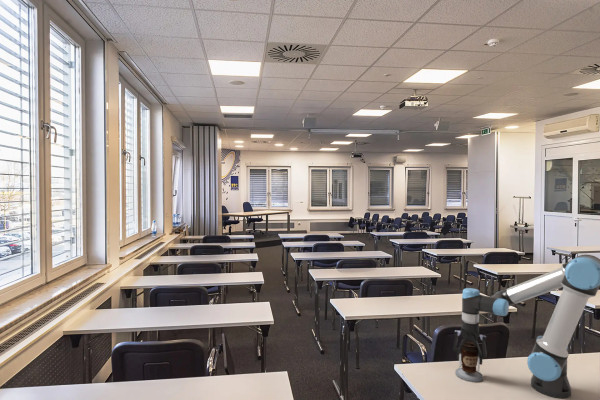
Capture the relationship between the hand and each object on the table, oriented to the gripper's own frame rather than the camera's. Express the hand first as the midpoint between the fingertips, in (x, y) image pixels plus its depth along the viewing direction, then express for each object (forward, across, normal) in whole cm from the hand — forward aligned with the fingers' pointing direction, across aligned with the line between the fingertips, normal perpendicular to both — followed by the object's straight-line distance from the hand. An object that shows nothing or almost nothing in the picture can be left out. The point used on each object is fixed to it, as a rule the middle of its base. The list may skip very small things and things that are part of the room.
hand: (469, 368), depth 176 cm
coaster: (+4, 0, 0) cm, 4 cm away
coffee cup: (+1, 0, 0) cm, 1 cm away
